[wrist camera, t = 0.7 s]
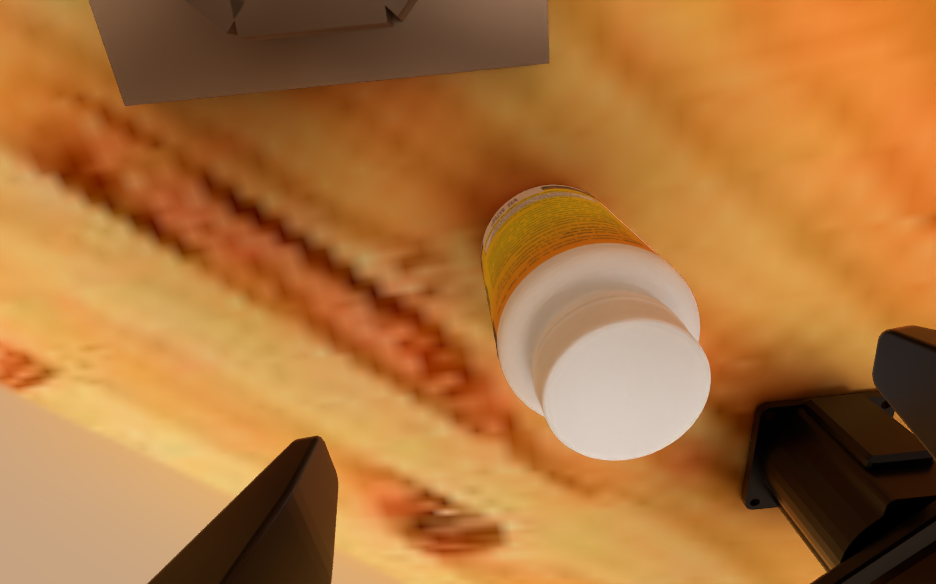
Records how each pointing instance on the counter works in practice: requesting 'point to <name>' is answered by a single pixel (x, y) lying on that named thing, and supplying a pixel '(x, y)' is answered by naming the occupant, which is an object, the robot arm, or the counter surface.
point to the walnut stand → (308, 42)
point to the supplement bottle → (592, 325)
